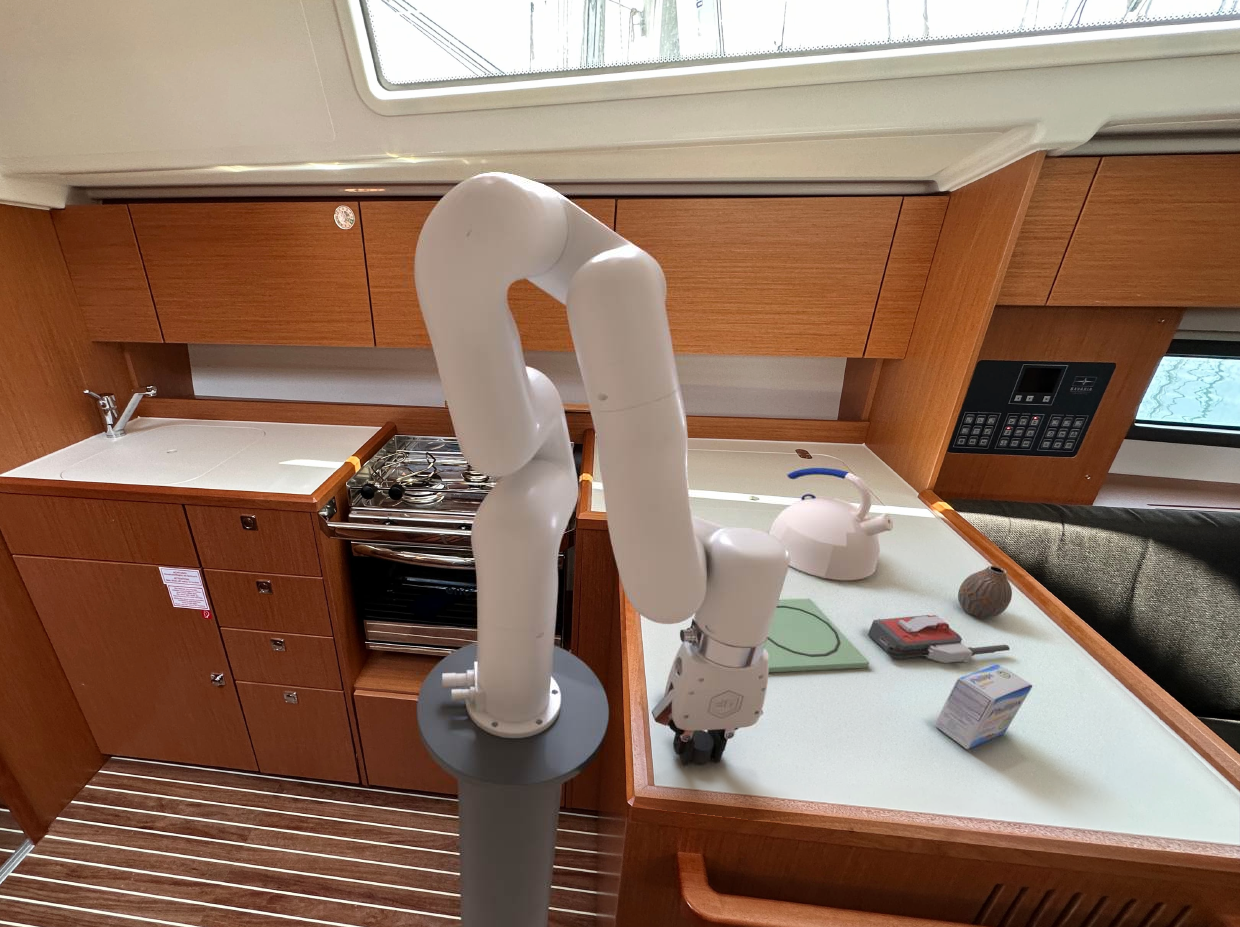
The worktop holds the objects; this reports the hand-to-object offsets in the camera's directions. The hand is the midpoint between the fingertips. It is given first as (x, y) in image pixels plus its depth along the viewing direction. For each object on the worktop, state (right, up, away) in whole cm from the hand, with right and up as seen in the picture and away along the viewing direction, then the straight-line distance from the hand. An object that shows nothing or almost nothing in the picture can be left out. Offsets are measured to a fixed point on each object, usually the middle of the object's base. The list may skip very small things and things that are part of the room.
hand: (697, 753), depth 69 cm
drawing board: (+20, +10, +21) cm, 30 cm away
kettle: (+39, +21, +45) cm, 63 cm away
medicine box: (+38, +1, +5) cm, 38 cm away
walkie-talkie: (+44, +8, +20) cm, 49 cm away
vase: (+58, +12, +29) cm, 66 cm away
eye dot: (0, 0, 0) cm, 0 cm away
